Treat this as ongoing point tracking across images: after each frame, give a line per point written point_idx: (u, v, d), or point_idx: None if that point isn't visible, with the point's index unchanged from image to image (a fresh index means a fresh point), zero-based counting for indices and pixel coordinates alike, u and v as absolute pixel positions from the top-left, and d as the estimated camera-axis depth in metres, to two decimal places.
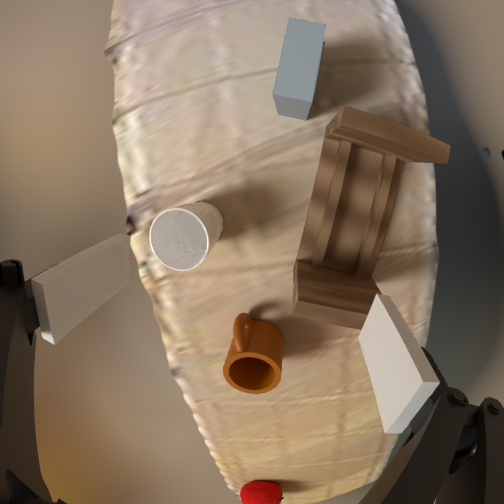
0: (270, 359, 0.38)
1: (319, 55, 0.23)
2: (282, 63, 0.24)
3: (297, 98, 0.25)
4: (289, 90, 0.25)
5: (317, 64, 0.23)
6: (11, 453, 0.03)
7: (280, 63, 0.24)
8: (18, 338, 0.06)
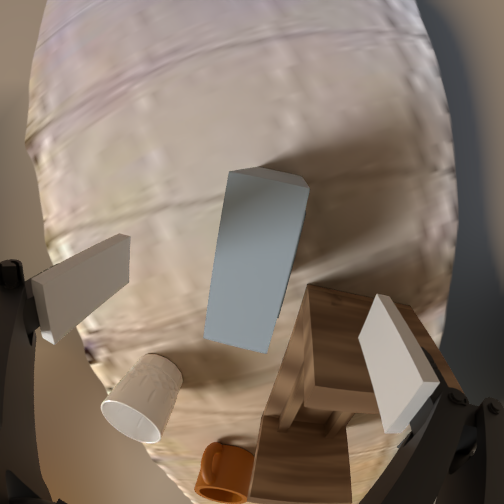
0: (236, 492, 0.30)
1: (287, 271, 0.15)
2: (215, 287, 0.15)
3: (243, 346, 0.17)
4: (229, 334, 0.16)
5: (281, 290, 0.15)
6: (11, 453, 0.03)
7: (212, 287, 0.15)
8: (18, 338, 0.06)
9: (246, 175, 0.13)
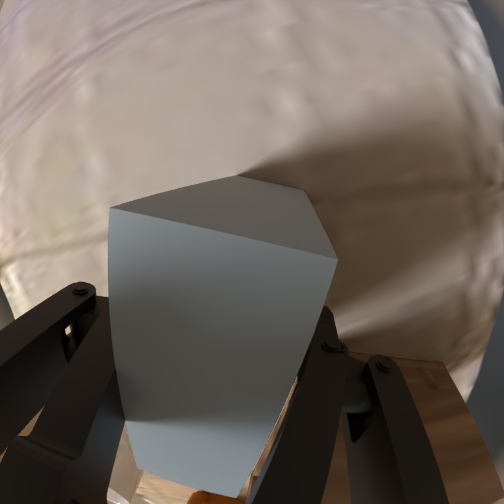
0: None
1: (267, 427, 0.06)
2: (133, 425, 0.07)
3: (198, 487, 0.08)
4: (174, 475, 0.07)
5: (255, 449, 0.06)
6: (82, 481, 0.03)
7: (128, 423, 0.07)
8: None
9: (151, 217, 0.05)
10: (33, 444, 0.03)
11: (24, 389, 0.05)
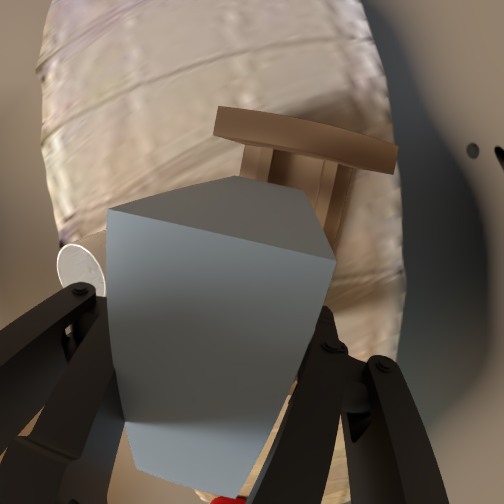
0: None
1: (266, 429, 0.06)
2: (132, 426, 0.07)
3: (197, 488, 0.08)
4: (173, 476, 0.07)
5: (254, 450, 0.06)
6: (82, 481, 0.03)
7: (127, 424, 0.07)
8: None
9: (149, 219, 0.04)
10: (32, 444, 0.03)
11: (24, 389, 0.05)
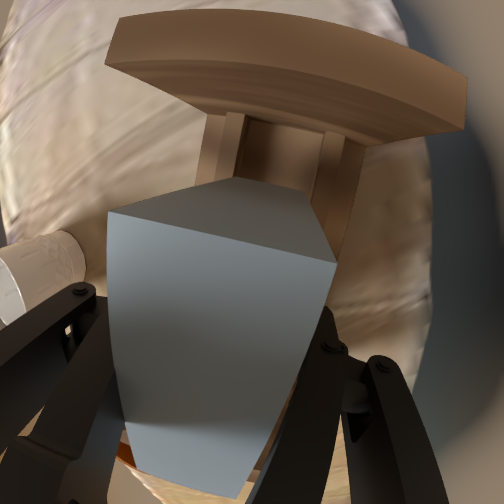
0: None
1: (266, 430, 0.06)
2: (133, 427, 0.07)
3: (198, 488, 0.08)
4: (174, 476, 0.07)
5: (255, 451, 0.06)
6: (82, 481, 0.03)
7: (128, 425, 0.07)
8: None
9: (150, 221, 0.05)
10: (33, 445, 0.03)
11: (24, 389, 0.05)
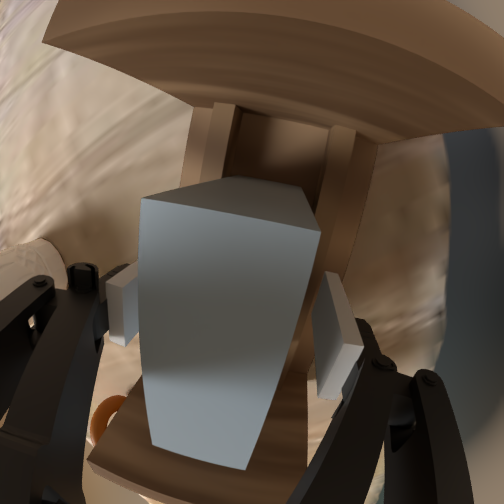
0: None
1: (271, 386, 0.07)
2: (152, 395, 0.08)
3: (209, 460, 0.09)
4: (187, 448, 0.09)
5: (262, 410, 0.07)
6: (55, 467, 0.03)
7: (147, 394, 0.08)
8: (84, 347, 0.07)
9: (176, 205, 0.06)
10: (5, 434, 0.03)
11: None
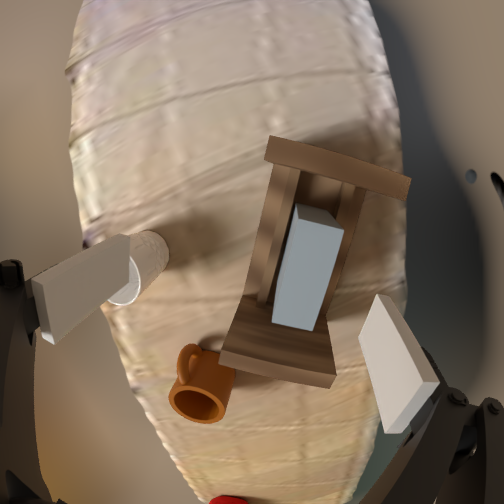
0: (212, 394, 0.35)
1: (328, 277, 0.24)
2: (284, 288, 0.25)
3: (297, 326, 0.26)
4: (289, 319, 0.26)
5: (324, 289, 0.24)
6: (11, 453, 0.03)
7: (282, 287, 0.25)
8: (18, 338, 0.06)
9: (308, 221, 0.23)
10: None
11: None
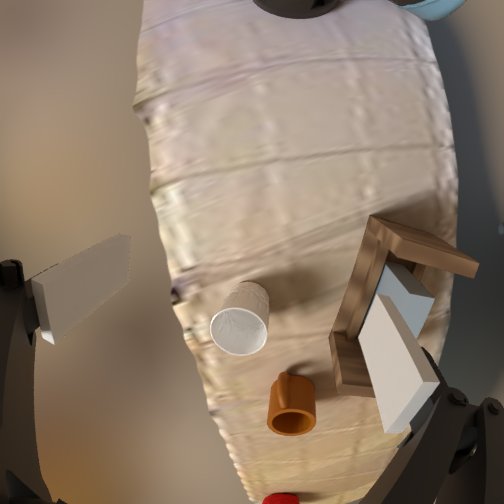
0: (308, 413, 0.42)
1: (420, 328, 0.30)
2: None
3: None
4: None
5: (416, 336, 0.30)
6: (11, 452, 0.03)
7: None
8: (18, 338, 0.06)
9: (415, 294, 0.29)
10: None
11: None
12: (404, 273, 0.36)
